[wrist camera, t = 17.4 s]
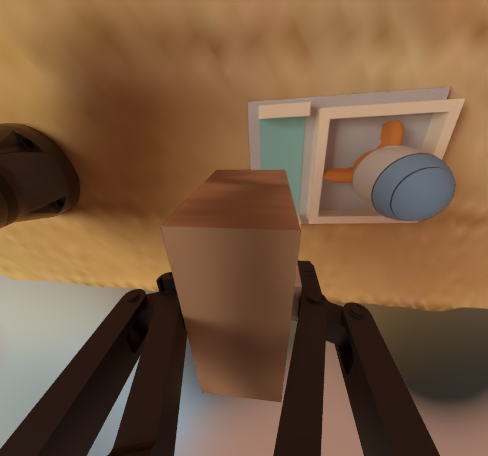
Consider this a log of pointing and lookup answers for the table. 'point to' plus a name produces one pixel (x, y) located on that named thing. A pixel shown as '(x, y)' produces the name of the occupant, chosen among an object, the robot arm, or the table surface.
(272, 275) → the wing block
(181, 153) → the table surface
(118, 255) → the table surface
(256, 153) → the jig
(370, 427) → the robot arm
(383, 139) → the toy rocket
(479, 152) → the table surface
